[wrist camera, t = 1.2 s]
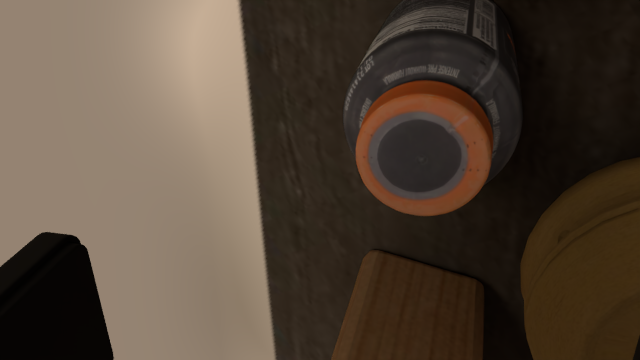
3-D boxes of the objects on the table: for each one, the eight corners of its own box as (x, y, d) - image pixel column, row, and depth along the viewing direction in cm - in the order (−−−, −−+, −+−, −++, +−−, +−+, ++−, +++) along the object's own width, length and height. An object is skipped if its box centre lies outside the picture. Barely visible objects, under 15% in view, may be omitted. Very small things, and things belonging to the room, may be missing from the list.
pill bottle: (484, 128, 29) (480, 273, 19) (364, 89, 29) (301, 211, 20) (537, 4, 26) (564, 102, 16) (401, -37, 26) (348, 35, 17)
